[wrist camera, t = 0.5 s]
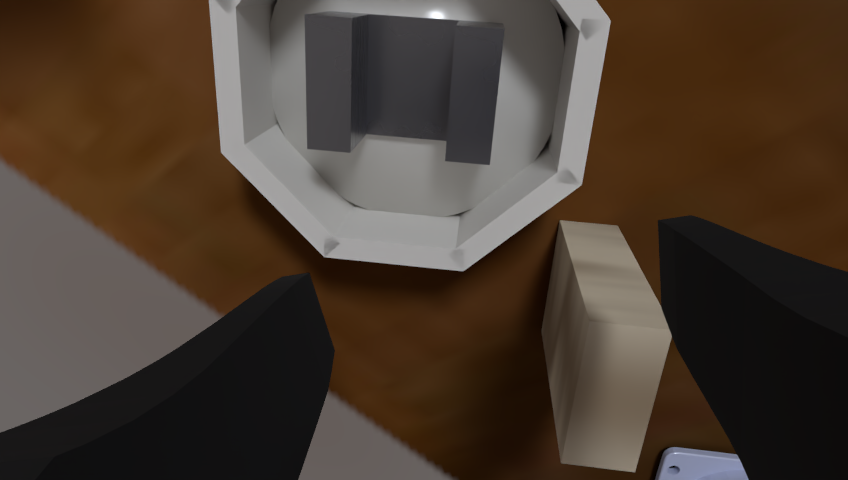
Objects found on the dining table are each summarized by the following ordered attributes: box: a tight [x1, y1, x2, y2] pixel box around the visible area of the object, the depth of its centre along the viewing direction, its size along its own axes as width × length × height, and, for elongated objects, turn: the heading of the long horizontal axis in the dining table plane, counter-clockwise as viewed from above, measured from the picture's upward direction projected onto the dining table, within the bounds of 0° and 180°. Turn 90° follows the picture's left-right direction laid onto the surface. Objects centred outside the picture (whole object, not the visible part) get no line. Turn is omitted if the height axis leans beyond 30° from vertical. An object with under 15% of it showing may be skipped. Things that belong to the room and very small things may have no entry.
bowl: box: [209, 0, 611, 271], centre depth 19 cm, size 12×12×4 cm
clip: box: [304, 11, 505, 165], centre depth 19 cm, size 4×6×3 cm
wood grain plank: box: [541, 220, 672, 472], centre depth 20 cm, size 5×2×8 cm, turn 177°
